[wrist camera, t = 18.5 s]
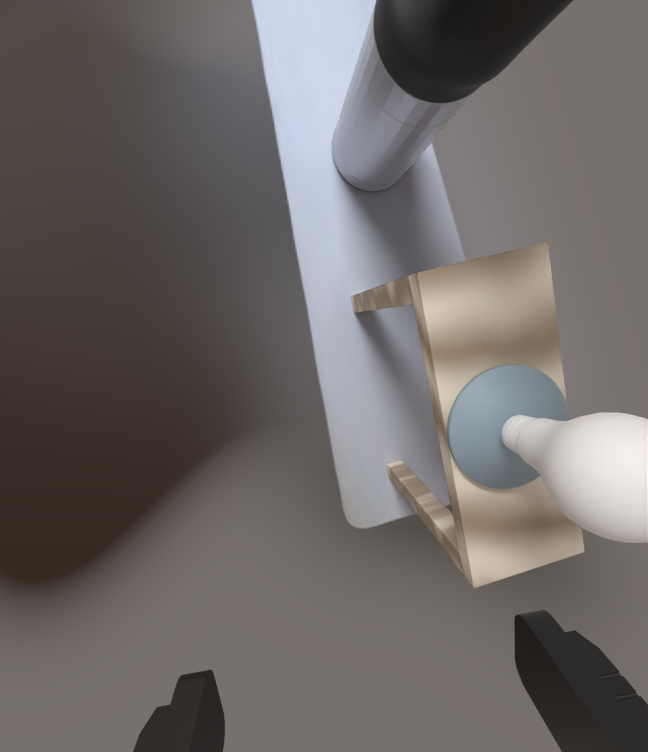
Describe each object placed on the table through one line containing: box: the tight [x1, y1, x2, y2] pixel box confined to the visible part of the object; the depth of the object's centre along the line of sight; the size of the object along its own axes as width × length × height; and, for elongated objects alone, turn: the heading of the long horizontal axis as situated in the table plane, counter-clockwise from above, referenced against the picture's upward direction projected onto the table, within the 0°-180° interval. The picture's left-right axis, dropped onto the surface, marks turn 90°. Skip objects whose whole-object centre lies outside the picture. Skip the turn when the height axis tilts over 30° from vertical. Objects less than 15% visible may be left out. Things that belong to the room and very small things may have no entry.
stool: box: [351, 243, 584, 588], centre depth 36 cm, size 24×10×21 cm, turn 13°
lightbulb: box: [501, 412, 648, 542], centre depth 20 cm, size 6×6×11 cm
